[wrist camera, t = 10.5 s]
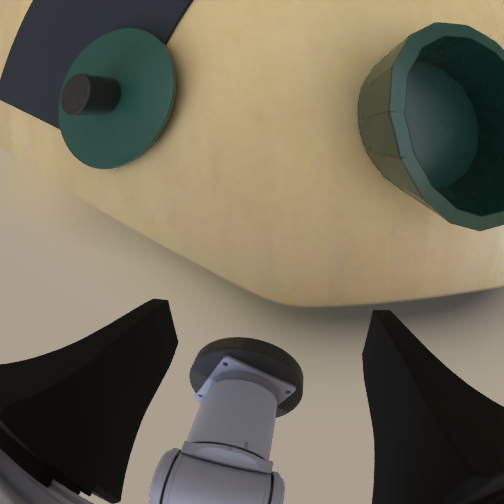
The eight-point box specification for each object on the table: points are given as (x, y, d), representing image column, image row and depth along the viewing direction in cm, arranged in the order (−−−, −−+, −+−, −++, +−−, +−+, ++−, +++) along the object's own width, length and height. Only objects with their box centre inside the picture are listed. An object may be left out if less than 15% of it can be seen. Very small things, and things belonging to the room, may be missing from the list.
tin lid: (144, 189, 18) (107, 206, 14) (54, 140, 17) (16, 147, 13) (208, 50, 14) (181, 28, 10) (99, 24, 13) (62, 12, 9)
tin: (441, 223, 16) (491, 265, 10) (329, 140, 15) (347, 143, 9) (498, 118, 12) (557, 123, 6) (395, 27, 11) (434, -13, 5)
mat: (117, 157, 17) (114, 157, 17) (-3, 97, 16) (-5, 97, 16) (218, -35, 11) (217, -37, 10) (54, -32, 10) (52, -32, 9)
